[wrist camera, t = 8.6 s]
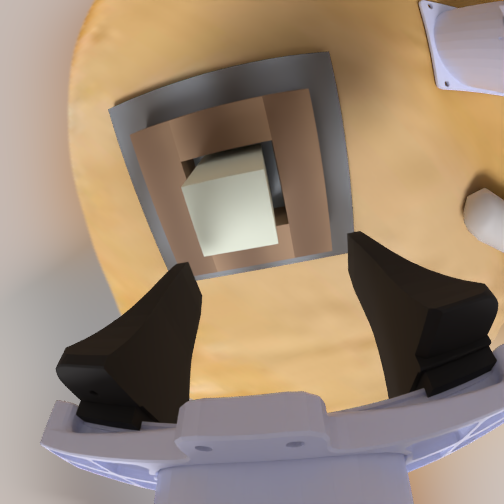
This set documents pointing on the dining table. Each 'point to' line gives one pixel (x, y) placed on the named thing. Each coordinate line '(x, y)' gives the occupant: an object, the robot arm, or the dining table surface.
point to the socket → (239, 135)
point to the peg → (231, 201)
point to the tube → (485, 218)
